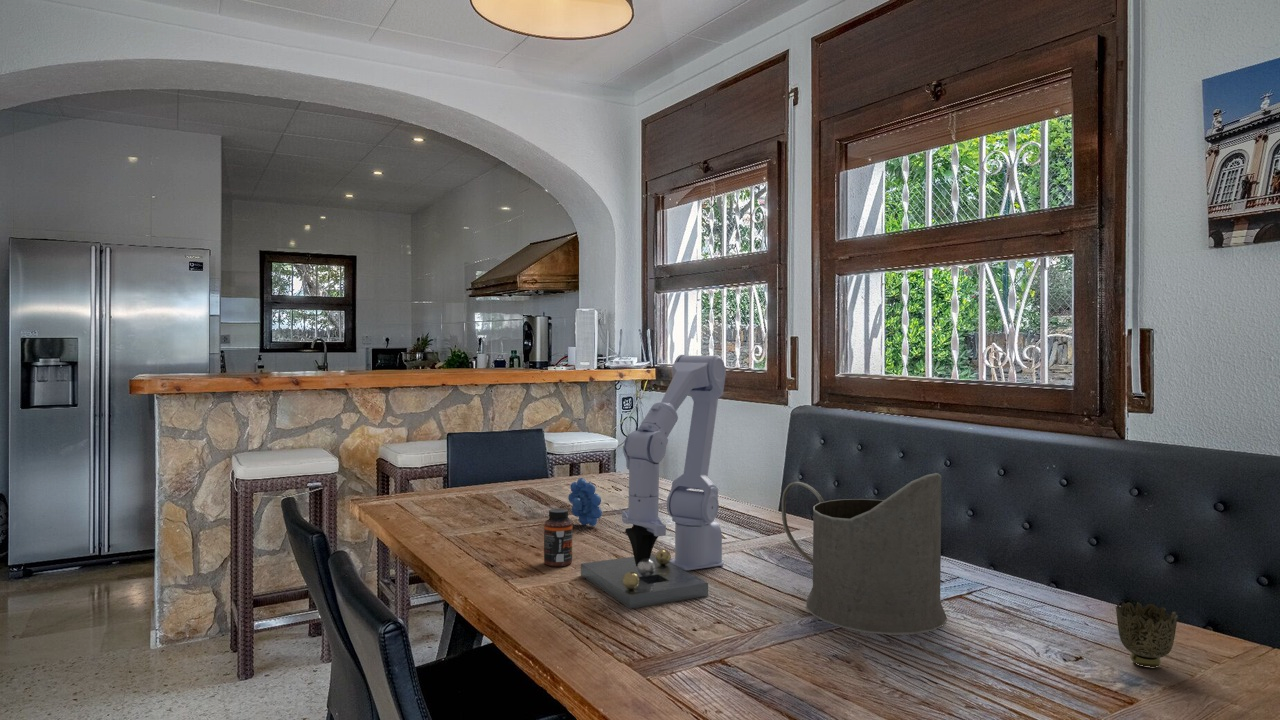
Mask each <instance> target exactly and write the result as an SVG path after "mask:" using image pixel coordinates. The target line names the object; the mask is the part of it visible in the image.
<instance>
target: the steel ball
mask: <svg viewBox="0 0 1280 720" xmlns="http://www.w3.org/2000/svg"><path fill="white" fill-rule="evenodd" d="M637 570H638V572H639V574H640V575H642V576H644V577H649V576H651V575H652V574H653V573H654V571H655V564H654V562H653V561H652V560H651V559H649V558H644V559H642V560H640V561H639V563H638V565H637Z"/></svg>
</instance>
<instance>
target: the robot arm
mask: <svg viewBox="0 0 1280 720" xmlns="http://www.w3.org/2000/svg"><path fill="white" fill-rule="evenodd" d="M671 367H672V368H671V369H672V372H671V373H672V379H671V381H670V383H669V385H668V387H667V389H666V391H665V393H664V395H663V398H662V400H661V401H660V402H656V403H654V404H652V405H651V408H650V409H649V411H648V413H647V414H646V415H645V417H644V418H643V420H642V422H641V423H640V425H639V426H638V428H637V429H636V430H634V431H632V432H630V433H628V434H627V435H626V437H625V439H624V444H623V446H622V453H623V455H624V457H625V460H626V461H625V463H626V464H625V465H626V469H627V470H628V508H627V510H622V511H621V521H622V523H623V524H626V525H632V526H631V527H627V528H625V534H626V535H627V537H628V539H629V542H630V545H631V548H632V553H633V557H634V559H635V563H636V566H637V565H638V563H639V561H640V560H642V559H644V558H649V559H650V556H651V554H652V552H653V549H654V545H655V544H656V542H657V540H658V538H659V537H663V536H664V537H666V535H667V532H666V531H667V525H666V524H664V523H663V522H662V520H661V519H660V517H659V503H660V502H659V501H660V500H659V498H660V497H659V495H660V494H659V492H660V491H659V490H660V489H659V488H660V462H662V461H663V459H664V458H665V456H666V452H667V445H668V443H669V439H668V437H669V435H670V434H671V432H672V431H673V429H674V427H675V425H676V423H677V422H678V419H679V416H678V415H679V414H678V413H677V411H678V409H679V408H680V406H681V405H682V404H683V403H684V401H685V399H687V396H689V397H690V398H691V399H692V401H693V406H692V413H691V420H690V426H689V433H688V439H687V446H686V447H687V448H686V452H685V453H686V455H685V459H684V467H683V472H682V473H683V474H681V475H680V476H678V477H677V478H676V479H674V480H673V481H672V483H671V488H670V492H669V493H668V496H667V498H666V510H667V513H668V515H669V516H670V518H672V519H671V521H672V522H673V523H675V529H674V530H675V532H674V541H675V542H674V558H671V560H670V562H669V563H670V564H672V565H674V566H676V567H678V568H680V569H682V570H684V571H686V572H688V571H694V570H695V571H696V570H700V569H701V570H702V569H706V568H707V569H708V568H716V567H721V566H724V562H723V560H722V559H723V550H722V549H723V533H722V530H721V527H720V525H719V523H718V522H717V521H716V520H715V519H716V518H717V516H718V513H719V508H720V506H719V488H718V487H717V485H716V484H715V483H714V482H713V481H712V480H711V479H710V478H709V477H708V476H709V469H710V463H711V461H710V460H711V454H712V449H713V440H714V431H715V424H716V420H717V419H716V417H717V410H718V404H719V403H718V402H719V398H721V397H722V396H723V395H724V389H725V385H726V384H725V382H726V377H727V376H726V374H727V369H726V366H725V363H724V360H723V359H722V357H721V356H720V355H719V354H714V355H685V354H679V355H678V356H677V357H676V359H675V360H674V362H673V364H672V366H671ZM698 490H700V491H698Z"/></svg>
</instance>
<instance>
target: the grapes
mask: <svg viewBox="0 0 1280 720" xmlns="http://www.w3.org/2000/svg"><path fill="white" fill-rule="evenodd" d="M569 489H570V491H571V492H569V494H568V498H567V499H568V502H569V503H570V504H571V505H572V507H571V513H572V515H573V516H574V517H577V518H578V521H579V523H580V524H581V525H582V524H583V526H587V525H589V526H591V527H594V526H596V525H597V523H598V519H600V518H601V517H602V515H603V514H602V513H603V511H602V509H601V508H600V507H599V506H600V505H601V504H602V499H601V496H600V495H599V494H598V493H596V486H595V485H594V484H593V482H587V480H586V479H585V478H582V477H580V478H578V479H577V481H573V482H572V483H571V484H570V487H569ZM586 524H587V525H586Z"/></svg>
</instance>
